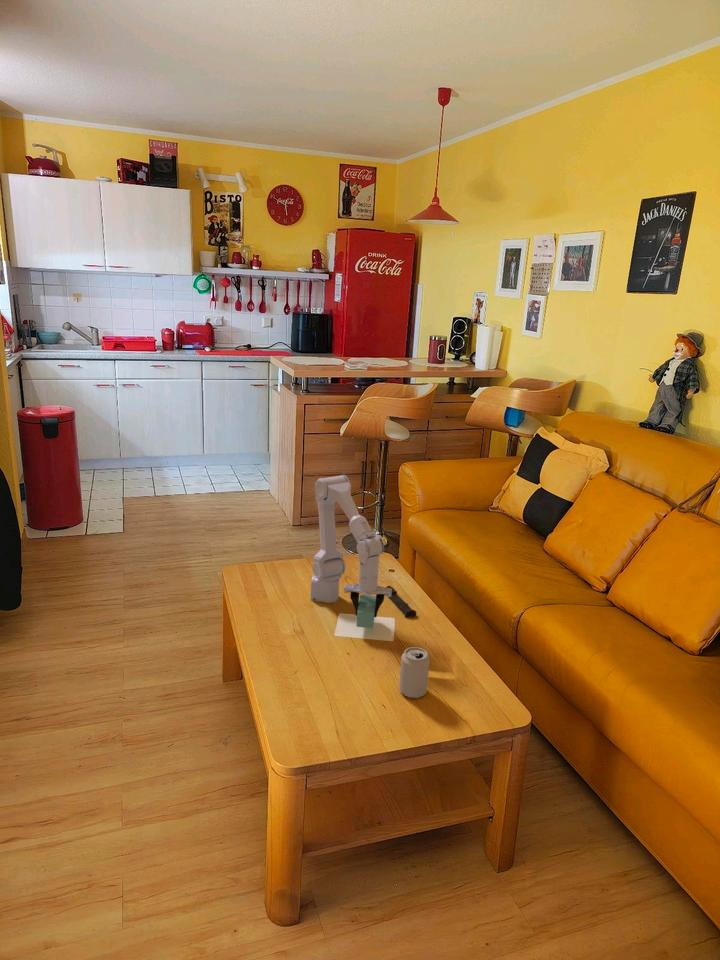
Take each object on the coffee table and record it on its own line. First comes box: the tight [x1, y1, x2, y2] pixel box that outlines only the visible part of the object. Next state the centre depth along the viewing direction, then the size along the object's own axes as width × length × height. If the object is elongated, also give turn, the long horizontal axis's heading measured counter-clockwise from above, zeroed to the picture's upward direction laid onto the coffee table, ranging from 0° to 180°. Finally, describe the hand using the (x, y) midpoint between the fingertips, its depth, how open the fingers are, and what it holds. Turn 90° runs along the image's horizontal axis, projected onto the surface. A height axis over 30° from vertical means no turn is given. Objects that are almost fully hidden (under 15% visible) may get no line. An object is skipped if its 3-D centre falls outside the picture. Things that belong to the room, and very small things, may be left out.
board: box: [334, 612, 396, 642], centre depth 205 cm, size 18×14×2 cm
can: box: [398, 646, 431, 699], centre depth 175 cm, size 8×8×12 cm
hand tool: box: [385, 585, 417, 618], centre depth 221 cm, size 19×4×5 cm, turn 21°
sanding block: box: [356, 594, 376, 628], centre depth 203 cm, size 5×11×5 cm, turn 175°
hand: (366, 614), depth 204 cm, fingers closed on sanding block, 5 cm apart
